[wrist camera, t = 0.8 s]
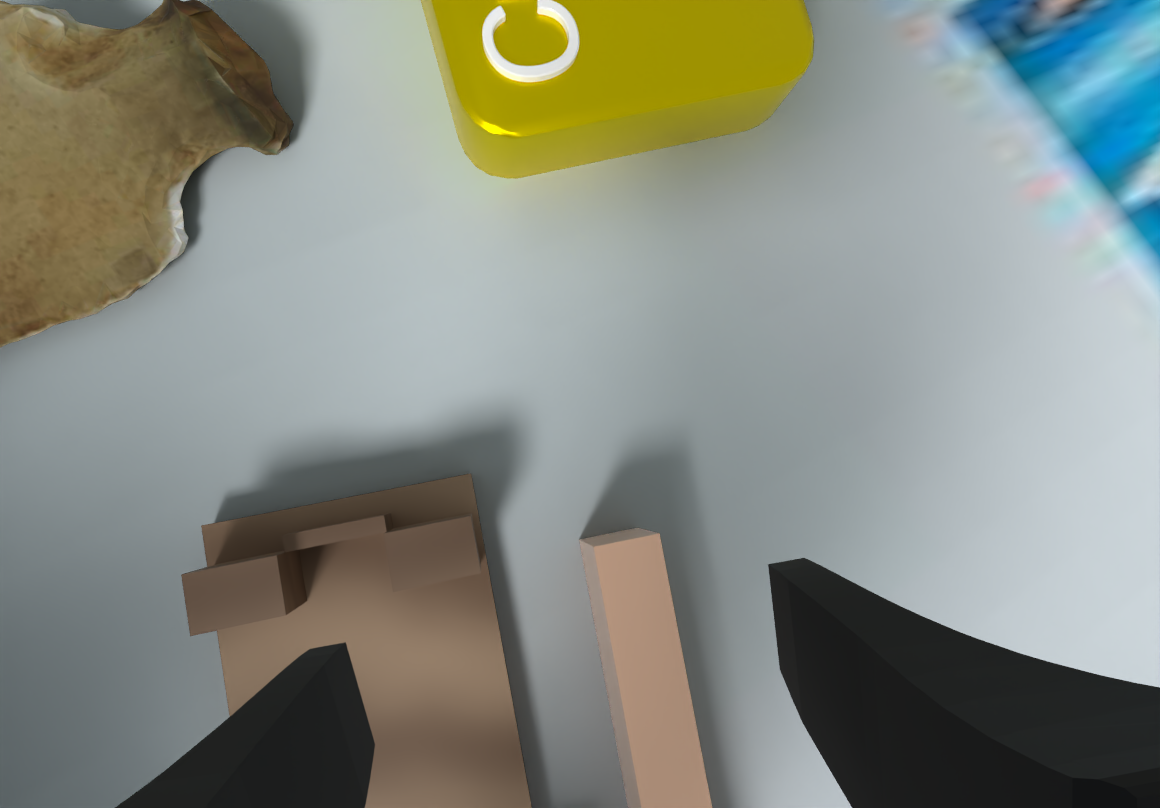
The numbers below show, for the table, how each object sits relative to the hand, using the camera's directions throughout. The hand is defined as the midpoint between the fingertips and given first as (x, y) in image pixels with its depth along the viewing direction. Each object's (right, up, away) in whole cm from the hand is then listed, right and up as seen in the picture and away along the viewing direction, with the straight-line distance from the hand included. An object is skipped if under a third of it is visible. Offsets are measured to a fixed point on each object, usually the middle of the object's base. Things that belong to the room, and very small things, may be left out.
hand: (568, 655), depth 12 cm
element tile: (+1, +23, +21) cm, 31 cm away
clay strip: (+3, -9, +17) cm, 20 cm away
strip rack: (-7, -9, +16) cm, 20 cm away
